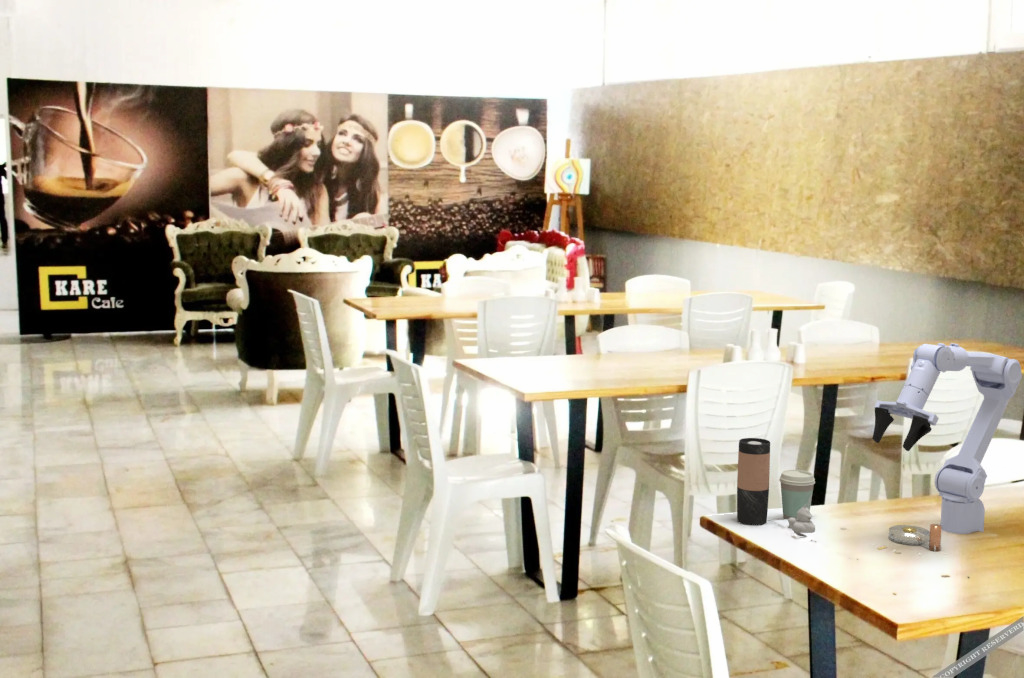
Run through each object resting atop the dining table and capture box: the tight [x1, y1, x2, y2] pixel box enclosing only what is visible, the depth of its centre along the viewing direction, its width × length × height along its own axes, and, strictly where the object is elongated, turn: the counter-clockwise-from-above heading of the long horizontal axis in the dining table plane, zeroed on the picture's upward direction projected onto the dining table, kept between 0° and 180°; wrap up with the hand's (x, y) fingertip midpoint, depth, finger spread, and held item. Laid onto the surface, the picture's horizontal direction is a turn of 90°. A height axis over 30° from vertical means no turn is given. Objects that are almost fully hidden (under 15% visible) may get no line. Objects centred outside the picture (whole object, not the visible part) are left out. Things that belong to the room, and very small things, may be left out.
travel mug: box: [736, 437, 771, 526], centre depth 287 cm, size 8×8×20 cm
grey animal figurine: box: [787, 504, 816, 538], centre depth 276 cm, size 5×7×8 cm
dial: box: [888, 523, 942, 552], centre depth 267 cm, size 14×9×6 cm, turn 23°
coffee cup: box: [778, 469, 816, 520], centre depth 287 cm, size 8×9×12 cm
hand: (890, 444), depth 259 cm, fingers open, 7 cm apart
